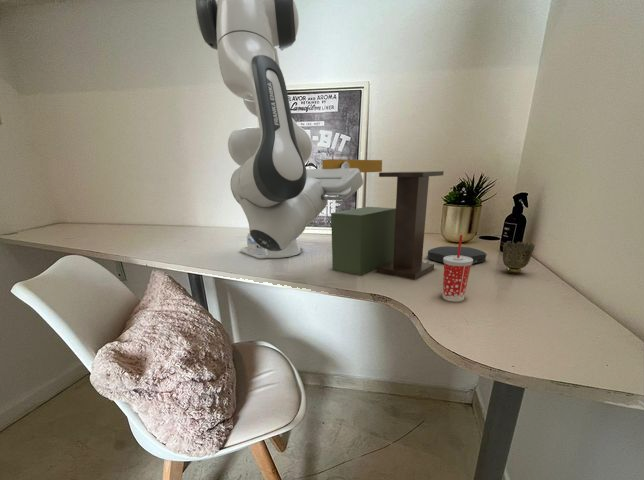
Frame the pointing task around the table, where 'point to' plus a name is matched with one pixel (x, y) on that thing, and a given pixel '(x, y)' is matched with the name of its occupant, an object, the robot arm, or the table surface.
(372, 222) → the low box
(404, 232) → the shelf stand
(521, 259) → the cup
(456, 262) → the beverage cup
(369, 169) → the wooden bar
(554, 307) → the table surface
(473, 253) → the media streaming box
